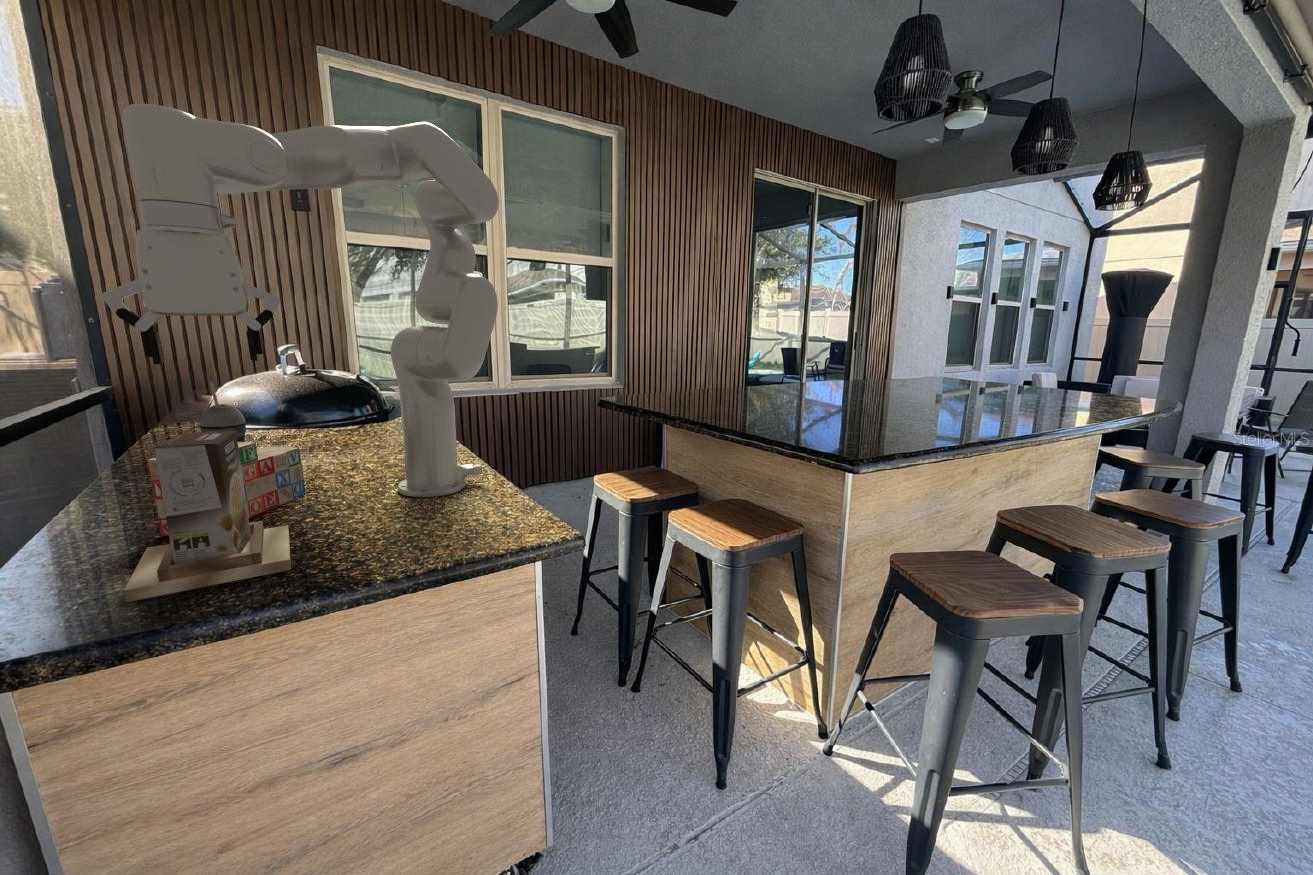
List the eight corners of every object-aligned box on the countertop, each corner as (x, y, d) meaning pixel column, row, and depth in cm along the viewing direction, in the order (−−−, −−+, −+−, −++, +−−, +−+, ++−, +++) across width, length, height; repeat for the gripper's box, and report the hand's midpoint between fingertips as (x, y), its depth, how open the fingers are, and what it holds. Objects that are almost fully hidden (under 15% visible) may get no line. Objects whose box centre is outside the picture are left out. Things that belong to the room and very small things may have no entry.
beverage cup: (235, 487, 103) (220, 384, 99) (198, 486, 103) (181, 383, 99) (263, 476, 110) (250, 380, 106) (228, 475, 110) (213, 379, 106)
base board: (289, 534, 82) (286, 515, 82) (291, 569, 71) (288, 548, 71) (149, 557, 73) (145, 537, 73) (126, 602, 62) (121, 578, 62)
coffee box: (237, 563, 69) (218, 443, 66) (173, 572, 67) (150, 447, 63) (252, 537, 77) (237, 429, 74) (196, 544, 75) (177, 432, 71)
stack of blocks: (276, 493, 101) (268, 429, 99) (306, 495, 100) (299, 431, 98) (160, 536, 81) (146, 458, 78) (197, 540, 80) (183, 460, 77)
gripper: (269, 232, 73) (287, 356, 78) (92, 218, 64) (123, 362, 68) (269, 226, 68) (289, 361, 72) (74, 209, 58) (109, 367, 62)
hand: (208, 361), depth 70 cm, fingers open, 9 cm apart
